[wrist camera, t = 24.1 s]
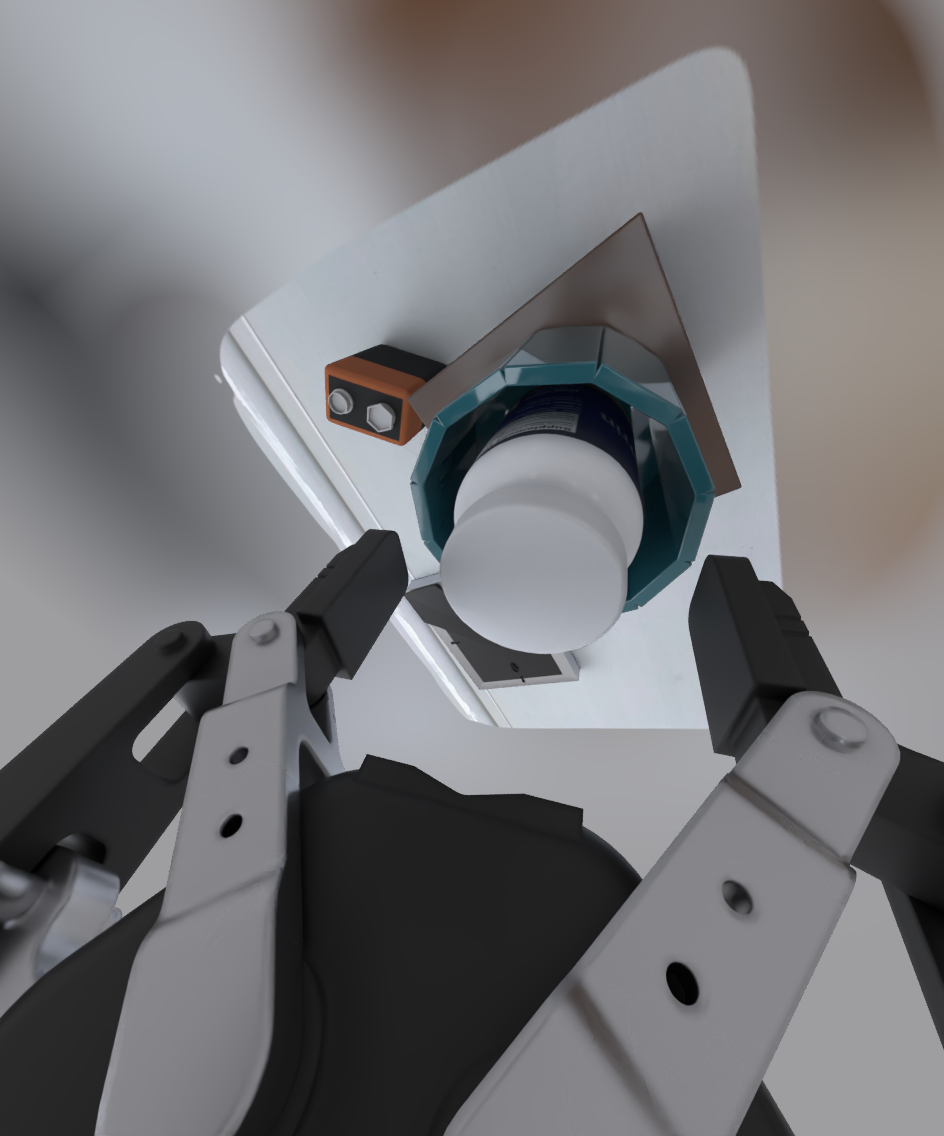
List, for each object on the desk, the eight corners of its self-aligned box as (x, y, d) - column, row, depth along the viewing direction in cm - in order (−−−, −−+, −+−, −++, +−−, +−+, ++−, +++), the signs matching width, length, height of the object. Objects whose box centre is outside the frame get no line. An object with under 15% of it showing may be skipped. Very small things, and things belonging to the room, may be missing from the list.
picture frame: (411, 580, 52) (482, 678, 61) (403, 594, 50) (478, 694, 59) (516, 550, 44) (579, 668, 54) (511, 565, 42) (578, 685, 51)
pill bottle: (642, 489, 17) (665, 667, 10) (521, 513, 20) (465, 670, 12) (621, 352, 14) (631, 457, 7) (482, 400, 17) (379, 516, 9)
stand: (493, 337, 32) (405, 399, 18) (626, 233, 26) (641, 210, 12) (557, 451, 36) (524, 568, 23) (684, 383, 30) (742, 488, 17)
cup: (433, 406, 18) (361, 468, 13) (623, 265, 13) (630, 272, 8) (530, 549, 22) (504, 643, 16) (709, 479, 17) (752, 581, 12)
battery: (442, 413, 37) (399, 454, 29) (376, 391, 37) (317, 426, 30) (450, 364, 34) (404, 395, 27) (379, 341, 34) (314, 365, 27)
